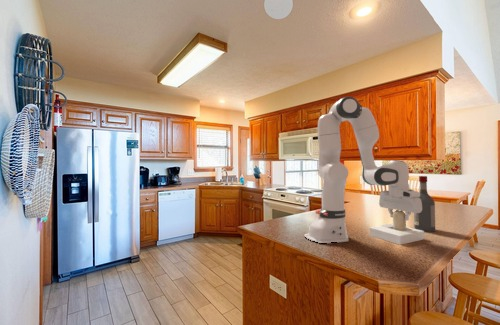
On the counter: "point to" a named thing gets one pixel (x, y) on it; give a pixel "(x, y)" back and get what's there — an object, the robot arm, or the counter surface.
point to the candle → (399, 221)
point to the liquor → (425, 209)
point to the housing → (396, 234)
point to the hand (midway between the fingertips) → (399, 218)
